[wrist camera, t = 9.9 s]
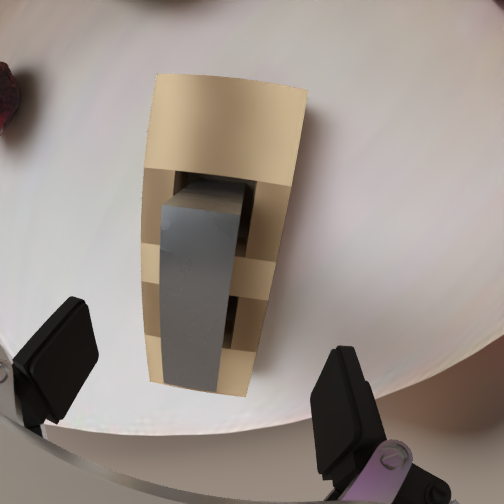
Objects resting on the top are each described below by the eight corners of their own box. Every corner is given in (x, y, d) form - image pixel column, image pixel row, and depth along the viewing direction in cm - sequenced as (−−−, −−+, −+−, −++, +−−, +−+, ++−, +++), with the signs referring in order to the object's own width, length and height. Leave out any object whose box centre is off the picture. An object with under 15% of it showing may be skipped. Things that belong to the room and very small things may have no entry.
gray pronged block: (199, 176, 18) (161, 204, 10) (245, 183, 18) (240, 215, 10) (188, 307, 21) (163, 383, 14) (226, 312, 22) (216, 392, 14)
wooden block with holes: (296, 100, 16) (308, 90, 12) (246, 364, 24) (245, 396, 21) (176, 86, 16) (156, 74, 12) (161, 350, 24) (149, 381, 20)
